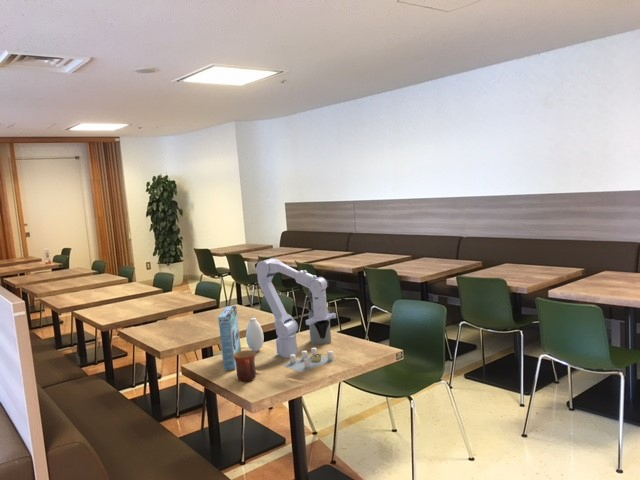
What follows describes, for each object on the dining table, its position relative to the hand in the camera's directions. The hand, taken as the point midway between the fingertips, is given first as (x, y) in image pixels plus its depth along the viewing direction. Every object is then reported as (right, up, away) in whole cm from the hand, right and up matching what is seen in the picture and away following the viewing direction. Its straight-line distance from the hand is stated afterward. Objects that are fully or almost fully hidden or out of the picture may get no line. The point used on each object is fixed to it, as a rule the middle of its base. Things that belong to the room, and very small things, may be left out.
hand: (322, 337), depth 218 cm
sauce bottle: (-31, -10, +20) cm, 38 cm away
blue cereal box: (-39, -12, +7) cm, 41 cm away
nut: (-2, -9, -1) cm, 9 cm away
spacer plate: (-6, -10, -3) cm, 12 cm away
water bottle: (-1, -7, +25) cm, 26 cm away
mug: (-30, -14, -16) cm, 36 cm away
